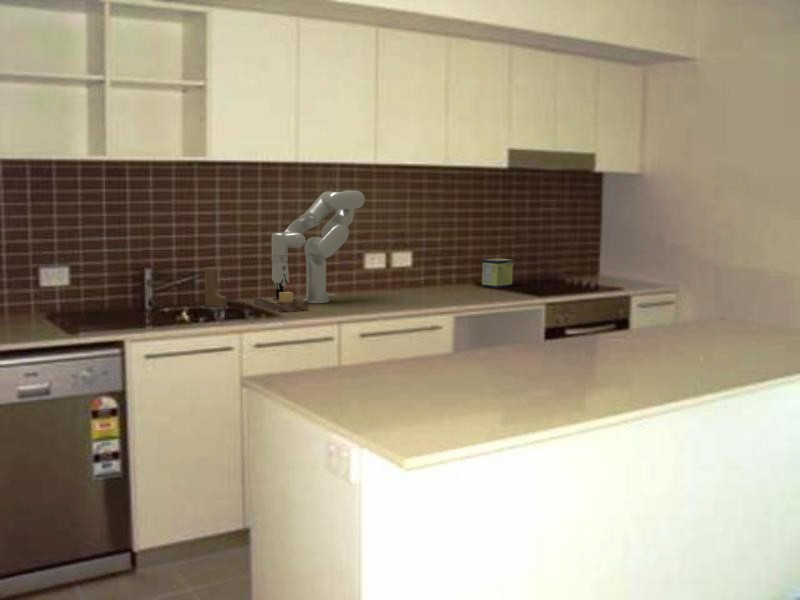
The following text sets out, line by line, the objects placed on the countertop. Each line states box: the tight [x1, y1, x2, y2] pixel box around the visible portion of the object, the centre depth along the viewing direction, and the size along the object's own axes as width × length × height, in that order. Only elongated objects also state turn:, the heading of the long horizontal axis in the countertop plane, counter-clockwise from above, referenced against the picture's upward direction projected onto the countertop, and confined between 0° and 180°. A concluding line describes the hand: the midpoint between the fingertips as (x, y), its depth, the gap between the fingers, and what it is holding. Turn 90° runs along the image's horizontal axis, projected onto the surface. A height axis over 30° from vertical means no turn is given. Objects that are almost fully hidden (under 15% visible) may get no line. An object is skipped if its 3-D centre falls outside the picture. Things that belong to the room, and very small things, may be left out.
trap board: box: [253, 296, 309, 313], centre depth 411 cm, size 14×30×4 cm, turn 33°
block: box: [279, 291, 294, 302], centre depth 413 cm, size 5×5×4 cm
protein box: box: [481, 257, 514, 289], centre depth 498 cm, size 10×16×16 cm
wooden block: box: [204, 266, 228, 308], centre depth 408 cm, size 9×4×18 cm, turn 81°
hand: (279, 297), depth 418 cm, fingers closed
